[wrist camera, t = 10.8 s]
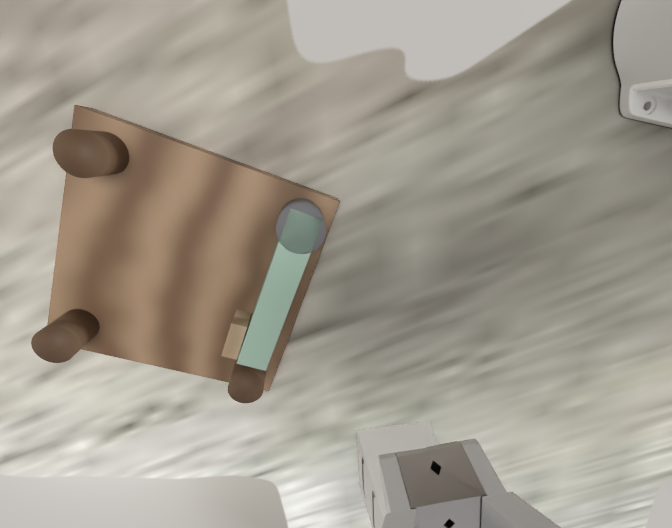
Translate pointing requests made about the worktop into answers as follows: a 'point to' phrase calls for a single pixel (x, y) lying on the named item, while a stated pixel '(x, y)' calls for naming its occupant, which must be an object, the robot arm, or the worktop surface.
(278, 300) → the hinged leg
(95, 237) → the stool seat
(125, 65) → the worktop surface
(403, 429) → the grey tiered tower
